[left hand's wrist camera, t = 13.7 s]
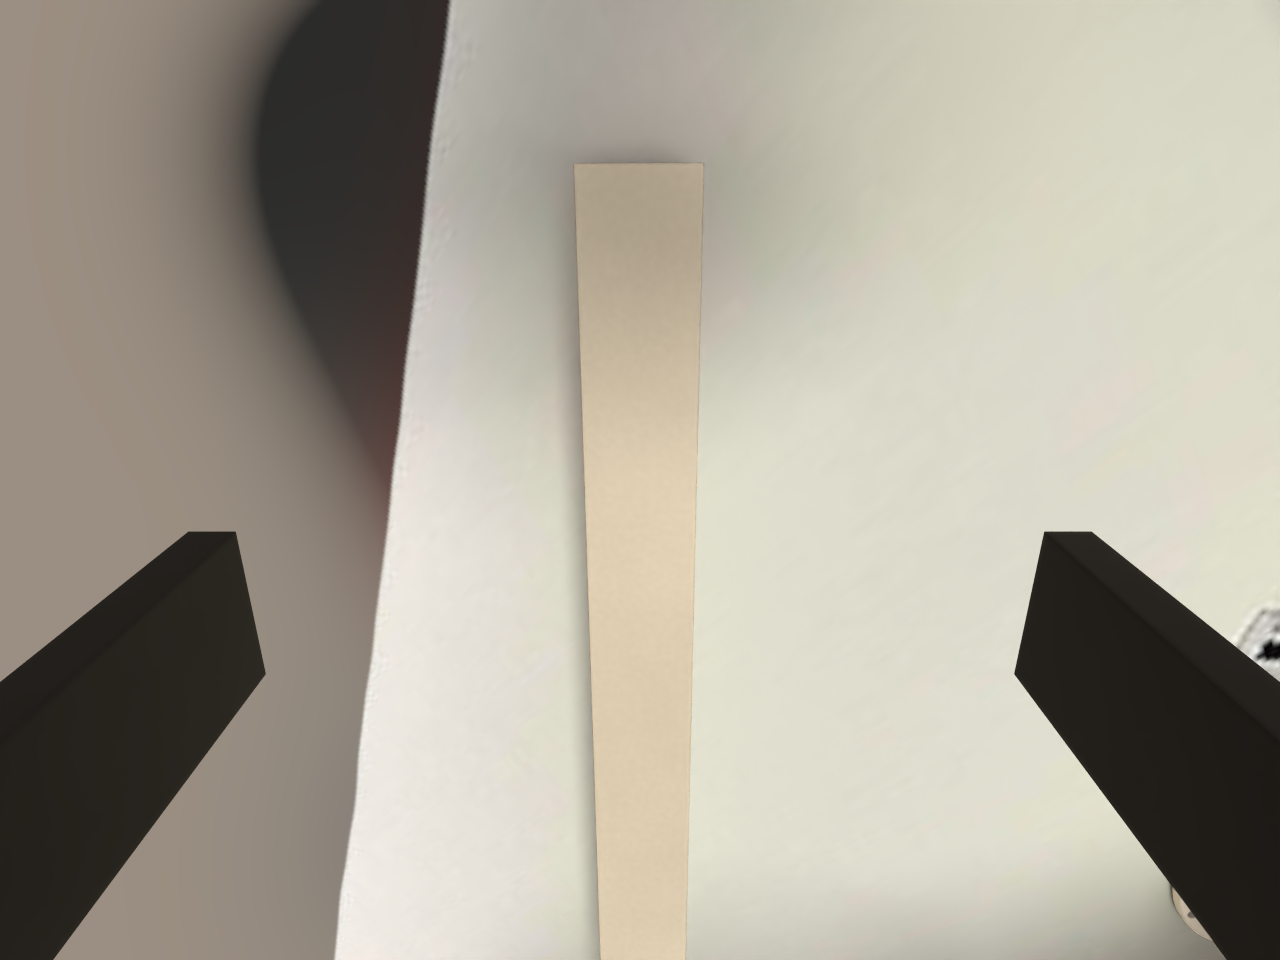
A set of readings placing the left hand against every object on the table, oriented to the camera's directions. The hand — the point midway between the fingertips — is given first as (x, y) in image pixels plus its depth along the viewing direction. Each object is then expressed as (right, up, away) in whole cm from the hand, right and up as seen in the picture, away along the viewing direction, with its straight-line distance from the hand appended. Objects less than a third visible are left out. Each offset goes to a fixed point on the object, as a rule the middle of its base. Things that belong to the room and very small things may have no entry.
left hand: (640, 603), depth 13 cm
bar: (0, -14, +40) cm, 43 cm away
